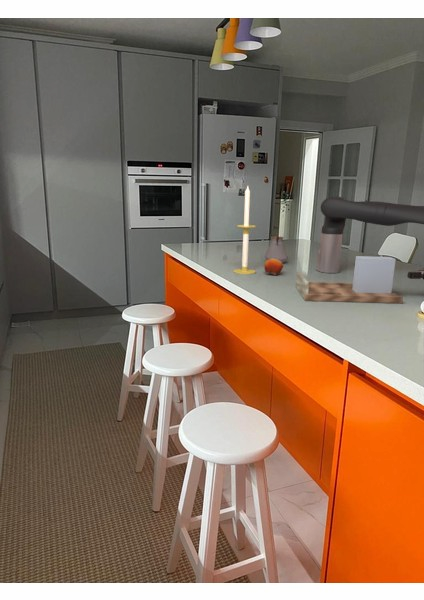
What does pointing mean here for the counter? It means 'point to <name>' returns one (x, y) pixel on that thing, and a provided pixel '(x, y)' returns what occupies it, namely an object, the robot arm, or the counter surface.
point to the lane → (340, 292)
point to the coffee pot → (276, 250)
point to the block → (373, 274)
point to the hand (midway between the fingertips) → (408, 275)
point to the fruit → (273, 266)
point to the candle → (245, 236)
